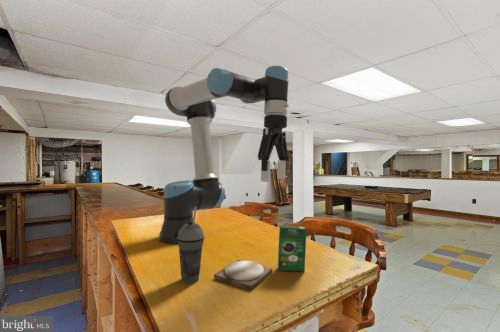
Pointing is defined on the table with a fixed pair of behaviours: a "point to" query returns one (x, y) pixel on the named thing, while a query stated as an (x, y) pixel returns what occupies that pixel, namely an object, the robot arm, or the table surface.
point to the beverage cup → (190, 251)
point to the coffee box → (292, 248)
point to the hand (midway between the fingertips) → (273, 180)
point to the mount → (243, 274)
